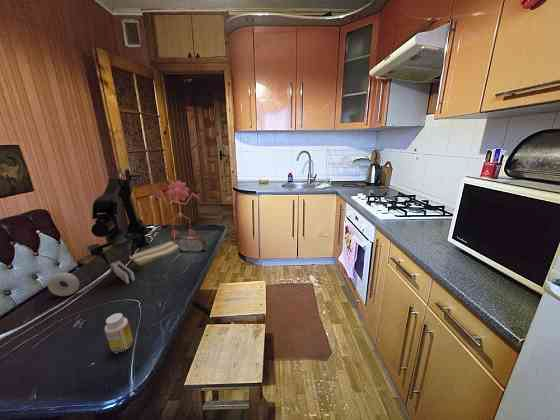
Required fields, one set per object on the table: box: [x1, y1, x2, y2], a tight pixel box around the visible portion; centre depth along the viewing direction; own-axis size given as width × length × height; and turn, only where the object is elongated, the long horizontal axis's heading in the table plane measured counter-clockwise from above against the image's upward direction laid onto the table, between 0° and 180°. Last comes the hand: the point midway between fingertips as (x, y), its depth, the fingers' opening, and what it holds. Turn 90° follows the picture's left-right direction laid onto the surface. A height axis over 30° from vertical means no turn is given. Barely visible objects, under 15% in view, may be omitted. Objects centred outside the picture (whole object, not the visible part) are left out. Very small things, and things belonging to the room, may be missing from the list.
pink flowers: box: [154, 180, 202, 241], centre depth 142 cm, size 15×26×35 cm, turn 96°
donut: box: [47, 272, 80, 297], centre depth 92 cm, size 10×4×10 cm, turn 103°
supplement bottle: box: [104, 312, 134, 354], centre depth 68 cm, size 6×6×10 cm
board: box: [128, 240, 182, 267], centre depth 125 cm, size 13×22×2 cm, turn 142°
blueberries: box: [72, 318, 87, 330], centre depth 78 cm, size 7×8×2 cm
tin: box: [176, 235, 207, 253], centre depth 126 cm, size 15×3×8 cm, turn 84°
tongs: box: [109, 260, 136, 284], centre depth 106 cm, size 18×3×4 cm, turn 52°
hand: (120, 260), depth 104 cm, fingers open, 9 cm apart
